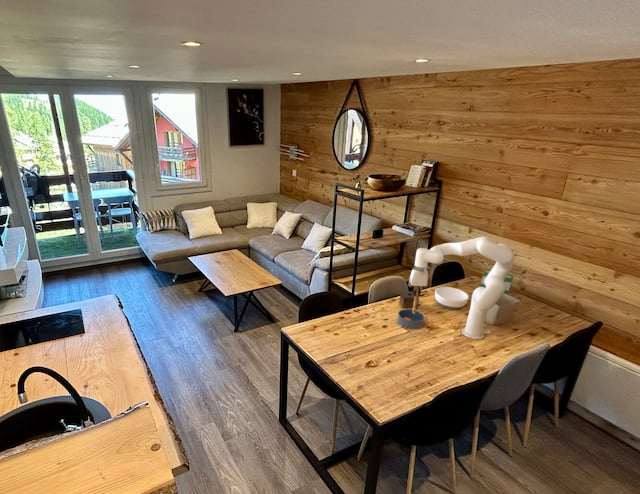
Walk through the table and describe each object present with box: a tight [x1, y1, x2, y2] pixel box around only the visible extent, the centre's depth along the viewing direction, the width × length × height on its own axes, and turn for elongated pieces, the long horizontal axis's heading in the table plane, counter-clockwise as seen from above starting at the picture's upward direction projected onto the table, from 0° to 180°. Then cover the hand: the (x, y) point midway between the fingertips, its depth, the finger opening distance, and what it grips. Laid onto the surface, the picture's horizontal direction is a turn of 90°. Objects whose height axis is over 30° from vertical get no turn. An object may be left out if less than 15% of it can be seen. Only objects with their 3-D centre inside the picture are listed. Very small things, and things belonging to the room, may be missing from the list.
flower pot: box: [485, 293, 521, 326], centre depth 258 cm, size 19×19×17 cm
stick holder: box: [398, 290, 420, 310], centre depth 275 cm, size 10×10×9 cm
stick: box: [412, 286, 419, 313], centre depth 246 cm, size 2×2×18 cm
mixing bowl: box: [396, 308, 425, 330], centre depth 254 cm, size 16×16×6 cm
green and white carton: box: [479, 268, 515, 295], centre depth 277 cm, size 18×7×24 cm, turn 52°
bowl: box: [434, 286, 470, 311], centre depth 279 cm, size 22×22×8 cm
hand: (416, 295), depth 245 cm, fingers closed on stick, 1 cm apart
